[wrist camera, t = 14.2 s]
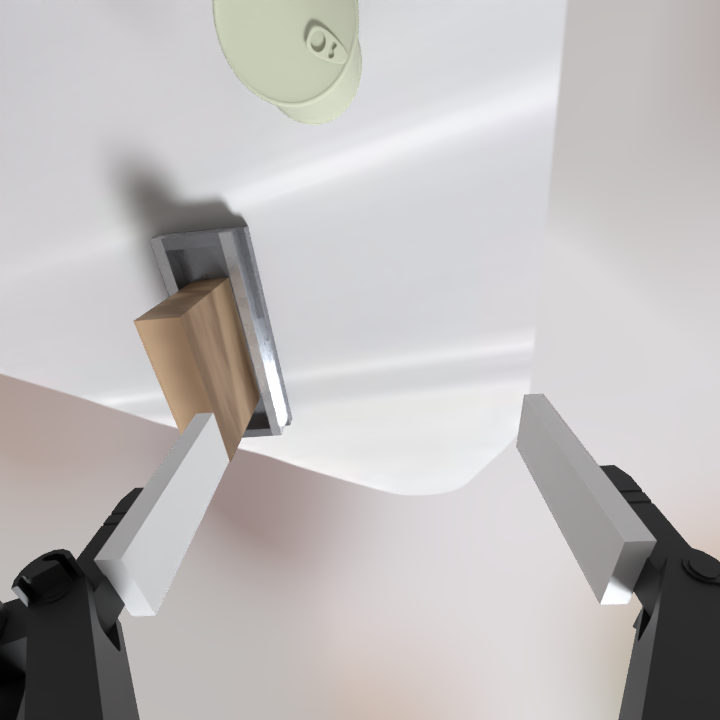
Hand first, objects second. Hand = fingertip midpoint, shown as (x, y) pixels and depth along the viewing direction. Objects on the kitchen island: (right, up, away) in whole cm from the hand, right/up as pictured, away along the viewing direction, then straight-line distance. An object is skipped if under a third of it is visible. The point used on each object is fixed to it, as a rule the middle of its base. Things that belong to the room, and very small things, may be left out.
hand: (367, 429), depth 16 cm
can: (-5, +30, +17) cm, 35 cm away
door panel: (-16, +5, +29) cm, 33 cm away
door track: (-16, +6, +30) cm, 35 cm away
